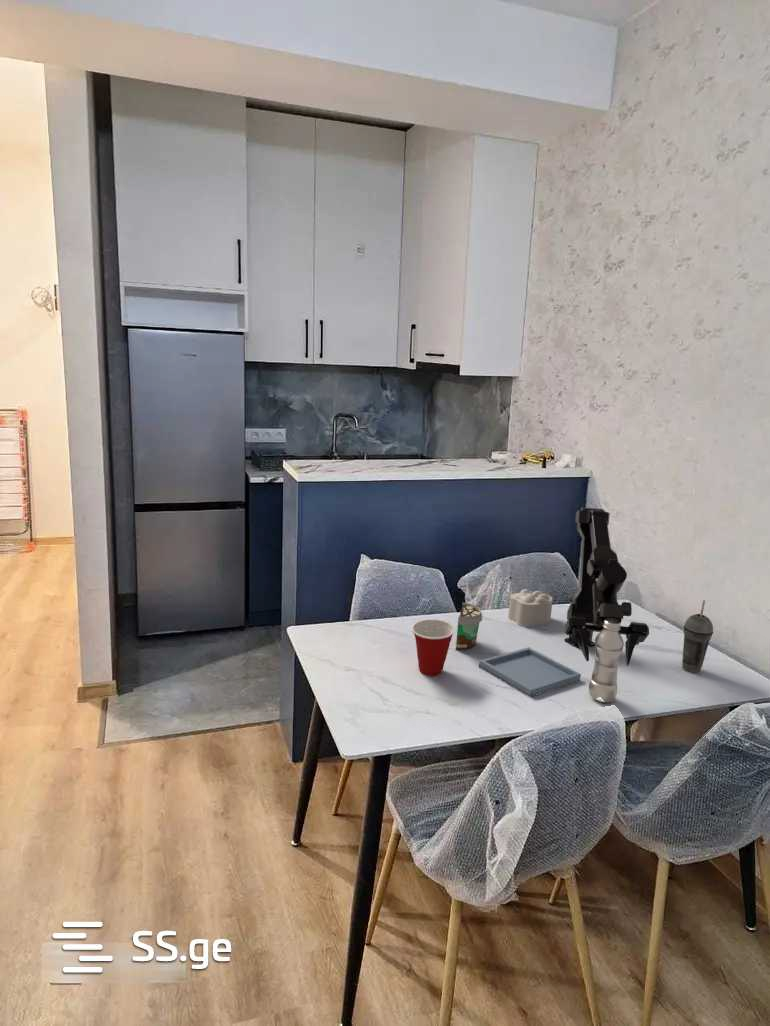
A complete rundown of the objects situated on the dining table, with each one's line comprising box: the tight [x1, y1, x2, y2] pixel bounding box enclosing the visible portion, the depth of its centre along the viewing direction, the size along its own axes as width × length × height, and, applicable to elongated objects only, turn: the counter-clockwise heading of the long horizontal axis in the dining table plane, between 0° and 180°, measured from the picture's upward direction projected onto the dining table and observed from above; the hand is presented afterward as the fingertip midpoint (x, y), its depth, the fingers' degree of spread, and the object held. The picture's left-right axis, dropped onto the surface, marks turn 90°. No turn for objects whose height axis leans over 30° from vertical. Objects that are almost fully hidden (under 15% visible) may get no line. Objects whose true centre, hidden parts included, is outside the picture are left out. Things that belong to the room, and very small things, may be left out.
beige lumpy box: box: [507, 588, 554, 628], centre depth 214 cm, size 10×13×9 cm
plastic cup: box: [411, 618, 456, 677], centre depth 174 cm, size 11×11×12 cm
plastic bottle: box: [588, 618, 625, 703], centre depth 165 cm, size 6×7×20 cm
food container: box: [455, 602, 483, 651], centre depth 192 cm, size 12×6×10 cm, turn 168°
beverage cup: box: [681, 600, 714, 674], centre depth 184 cm, size 7×7×20 cm
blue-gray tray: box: [478, 646, 582, 698], centre depth 178 cm, size 18×18×2 cm
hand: (607, 662), depth 164 cm, fingers open, 9 cm apart
